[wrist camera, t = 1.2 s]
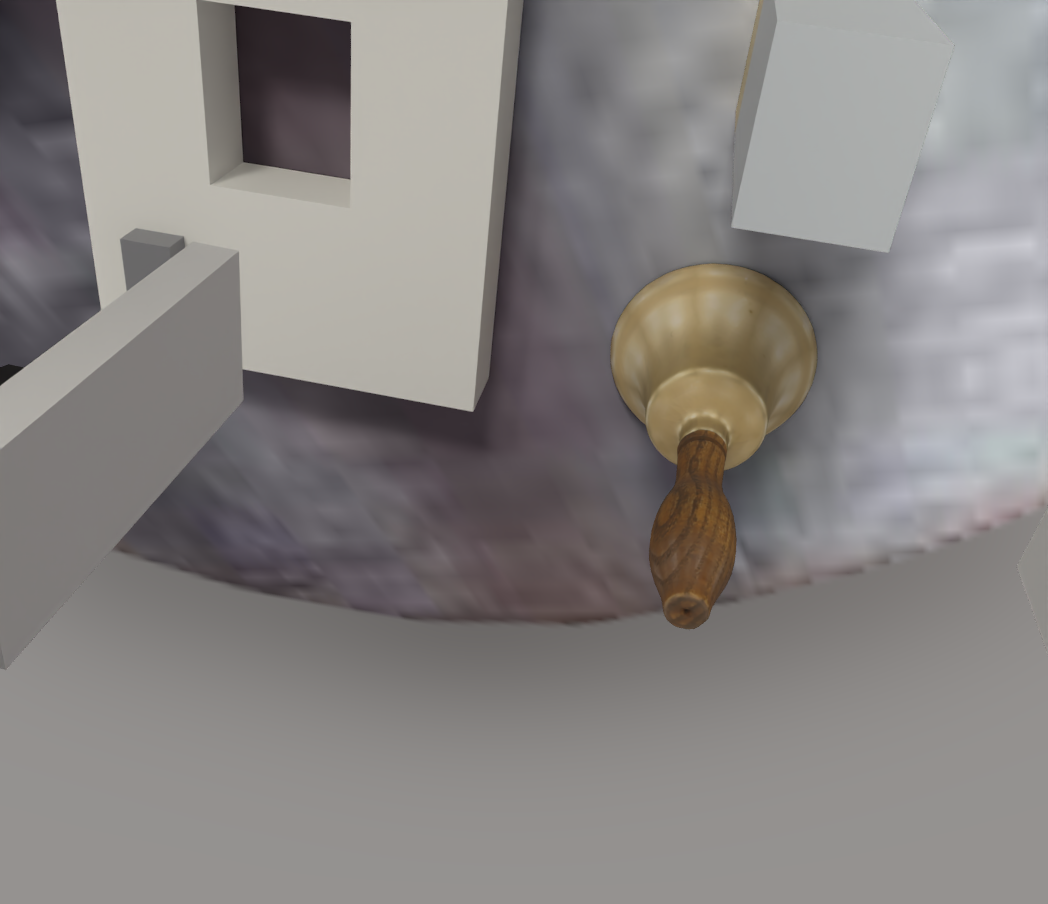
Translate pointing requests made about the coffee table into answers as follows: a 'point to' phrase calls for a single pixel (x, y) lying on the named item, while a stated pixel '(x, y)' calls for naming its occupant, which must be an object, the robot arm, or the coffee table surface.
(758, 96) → the plug
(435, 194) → the socket plate
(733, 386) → the hand bell
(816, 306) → the coffee table surface
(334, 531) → the coffee table surface
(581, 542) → the coffee table surface
